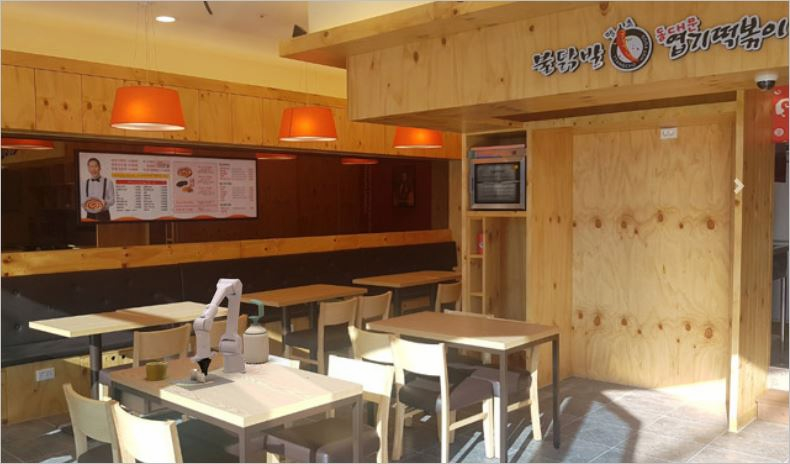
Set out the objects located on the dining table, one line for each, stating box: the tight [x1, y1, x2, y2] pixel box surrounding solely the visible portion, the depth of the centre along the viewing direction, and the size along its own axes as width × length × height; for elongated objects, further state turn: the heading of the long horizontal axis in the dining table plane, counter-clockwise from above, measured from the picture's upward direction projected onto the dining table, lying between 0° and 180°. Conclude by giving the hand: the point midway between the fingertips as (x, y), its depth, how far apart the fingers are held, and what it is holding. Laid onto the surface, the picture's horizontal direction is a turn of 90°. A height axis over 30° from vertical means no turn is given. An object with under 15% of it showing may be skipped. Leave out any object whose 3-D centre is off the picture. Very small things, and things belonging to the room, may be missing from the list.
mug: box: [145, 361, 169, 382], centre depth 318 cm, size 12×10×10 cm
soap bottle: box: [242, 298, 270, 365], centre depth 350 cm, size 12×12×31 cm
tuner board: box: [168, 373, 236, 392], centre depth 308 cm, size 21×22×1 cm
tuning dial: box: [190, 367, 205, 383], centre depth 310 cm, size 13×4×4 cm, turn 36°
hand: (204, 375), depth 309 cm, fingers closed, pressing on tuning dial
